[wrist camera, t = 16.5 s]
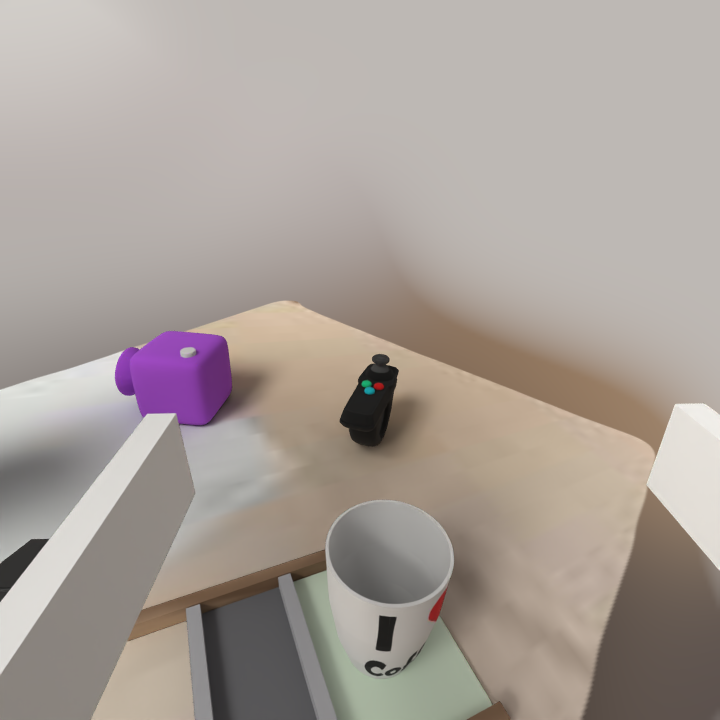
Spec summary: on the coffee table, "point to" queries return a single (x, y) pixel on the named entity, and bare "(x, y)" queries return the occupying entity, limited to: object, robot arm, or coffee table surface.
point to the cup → (386, 582)
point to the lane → (243, 588)
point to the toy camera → (177, 375)
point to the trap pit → (256, 660)
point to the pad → (396, 694)
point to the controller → (371, 402)
